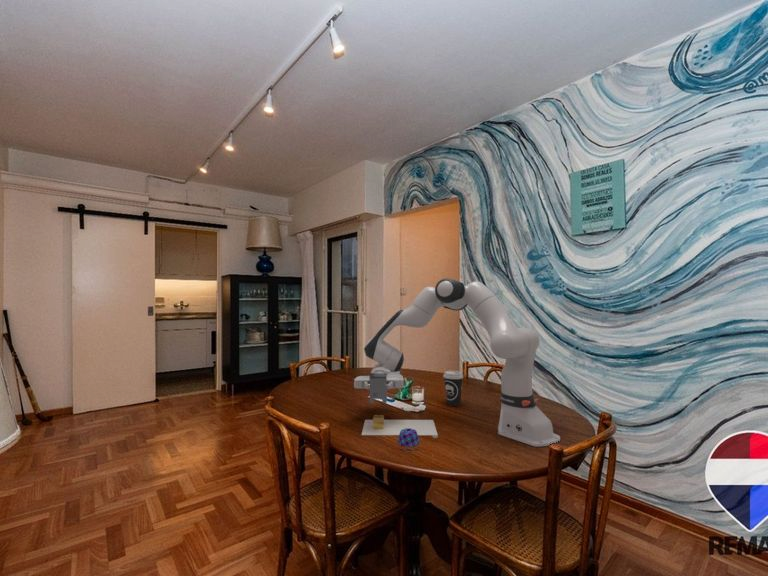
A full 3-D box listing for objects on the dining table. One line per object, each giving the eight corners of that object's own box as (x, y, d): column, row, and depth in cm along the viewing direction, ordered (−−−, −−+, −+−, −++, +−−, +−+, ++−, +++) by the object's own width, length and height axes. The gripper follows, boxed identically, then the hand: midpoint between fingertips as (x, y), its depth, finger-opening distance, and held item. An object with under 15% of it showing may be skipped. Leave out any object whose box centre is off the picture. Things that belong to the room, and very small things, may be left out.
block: (373, 425, 142) (373, 414, 142) (383, 425, 142) (383, 414, 142) (373, 428, 138) (373, 418, 138) (383, 428, 138) (383, 418, 138)
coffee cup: (465, 407, 166) (465, 374, 167) (445, 407, 167) (444, 374, 167) (461, 401, 176) (461, 370, 176) (442, 401, 176) (441, 370, 176)
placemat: (433, 422, 147) (433, 419, 147) (437, 437, 131) (437, 435, 131) (365, 422, 148) (365, 419, 148) (361, 437, 132) (361, 434, 132)
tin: (370, 398, 143) (370, 373, 144) (386, 398, 143) (386, 373, 143) (369, 403, 137) (369, 377, 137) (386, 403, 137) (386, 376, 137)
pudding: (401, 436, 134) (401, 422, 134) (431, 443, 127) (431, 428, 127) (385, 448, 124) (384, 433, 124) (416, 456, 117) (416, 440, 117)
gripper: (355, 371, 154) (351, 379, 140) (403, 371, 153) (404, 378, 139) (355, 386, 153) (351, 395, 140) (403, 386, 153) (404, 395, 139)
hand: (378, 387), depth 139 cm, fingers closed on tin, 6 cm apart
